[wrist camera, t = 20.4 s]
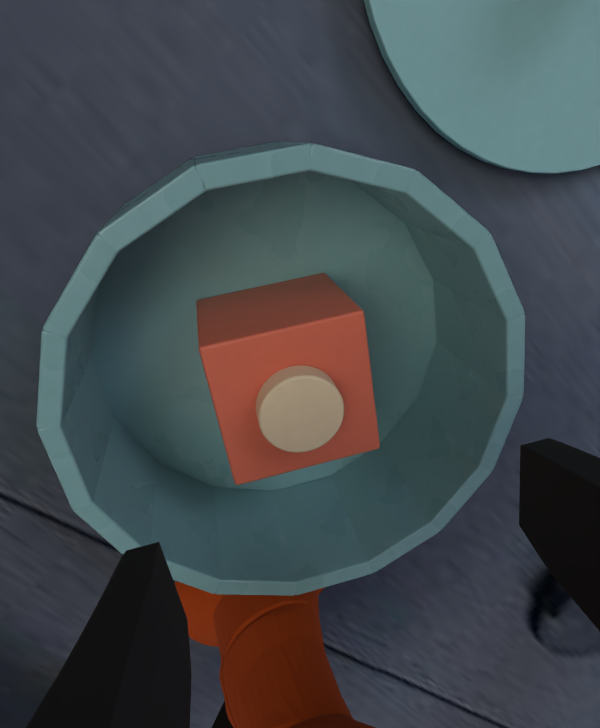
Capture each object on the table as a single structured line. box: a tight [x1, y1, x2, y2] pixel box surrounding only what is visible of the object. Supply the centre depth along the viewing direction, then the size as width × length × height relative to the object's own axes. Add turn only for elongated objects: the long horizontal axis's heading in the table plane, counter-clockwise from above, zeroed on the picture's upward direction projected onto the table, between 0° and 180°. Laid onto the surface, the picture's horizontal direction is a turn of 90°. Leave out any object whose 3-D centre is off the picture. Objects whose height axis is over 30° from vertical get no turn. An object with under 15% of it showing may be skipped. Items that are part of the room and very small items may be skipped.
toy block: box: [196, 273, 380, 485], centre depth 17 cm, size 5×5×5 cm
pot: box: [36, 142, 525, 596], centre depth 17 cm, size 14×14×5 cm
